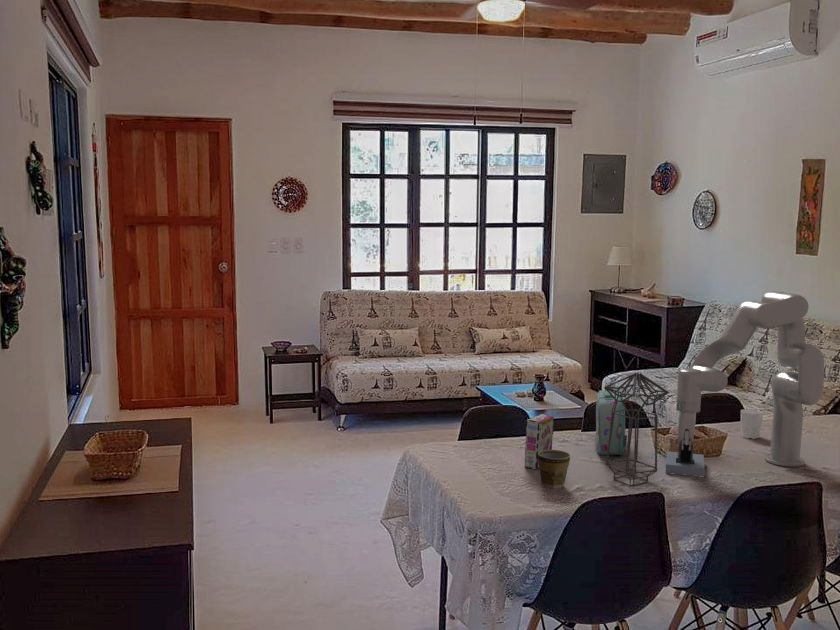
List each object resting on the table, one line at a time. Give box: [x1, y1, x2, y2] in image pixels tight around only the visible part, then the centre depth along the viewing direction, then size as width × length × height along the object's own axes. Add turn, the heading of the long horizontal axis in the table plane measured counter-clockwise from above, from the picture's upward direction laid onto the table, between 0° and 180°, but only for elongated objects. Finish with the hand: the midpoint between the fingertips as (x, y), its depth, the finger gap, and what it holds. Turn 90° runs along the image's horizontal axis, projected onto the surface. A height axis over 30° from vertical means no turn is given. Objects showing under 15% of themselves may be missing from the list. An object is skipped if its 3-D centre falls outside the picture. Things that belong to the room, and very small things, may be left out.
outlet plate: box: [664, 451, 705, 477], centre depth 274 cm, size 16×12×3 cm
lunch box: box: [594, 389, 628, 456], centre depth 294 cm, size 27×10×21 cm, turn 170°
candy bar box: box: [524, 413, 555, 470], centre depth 274 cm, size 11×5×16 cm, turn 145°
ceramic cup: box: [538, 449, 571, 489], centre depth 255 cm, size 13×10×10 cm
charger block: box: [678, 440, 694, 464], centre depth 272 cm, size 4×4×8 cm
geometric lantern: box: [603, 372, 670, 487], centre depth 259 cm, size 16×16×35 cm
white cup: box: [740, 408, 764, 440], centre depth 314 cm, size 8×8×10 cm
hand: (685, 459), depth 272 cm, fingers closed on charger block, 4 cm apart
